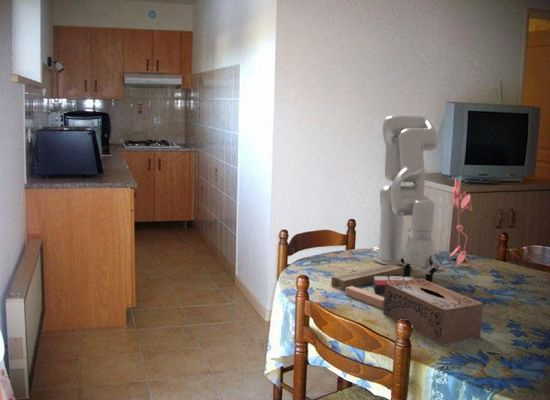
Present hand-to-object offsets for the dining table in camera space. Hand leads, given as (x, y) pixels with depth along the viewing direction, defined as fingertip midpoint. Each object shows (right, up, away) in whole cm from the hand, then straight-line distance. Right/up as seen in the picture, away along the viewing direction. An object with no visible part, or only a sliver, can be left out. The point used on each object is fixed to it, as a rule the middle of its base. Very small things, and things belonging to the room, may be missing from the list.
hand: (417, 280), depth 216 cm
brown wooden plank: (-17, 0, +6) cm, 18 cm away
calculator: (-9, -3, -5) cm, 11 cm away
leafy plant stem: (+22, +3, +36) cm, 42 cm away
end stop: (-21, -4, -17) cm, 28 cm away
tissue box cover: (-5, -8, -37) cm, 38 cm away
